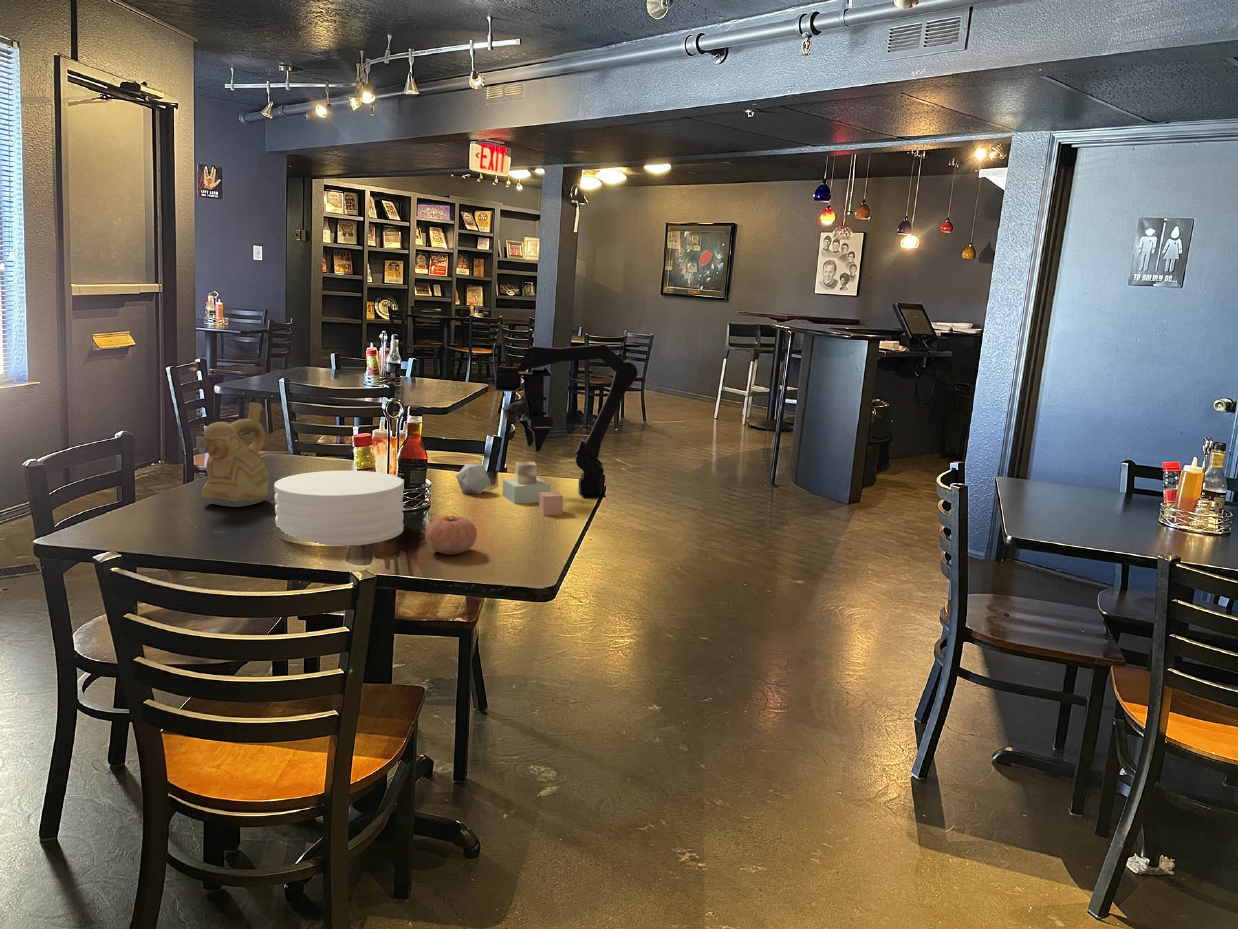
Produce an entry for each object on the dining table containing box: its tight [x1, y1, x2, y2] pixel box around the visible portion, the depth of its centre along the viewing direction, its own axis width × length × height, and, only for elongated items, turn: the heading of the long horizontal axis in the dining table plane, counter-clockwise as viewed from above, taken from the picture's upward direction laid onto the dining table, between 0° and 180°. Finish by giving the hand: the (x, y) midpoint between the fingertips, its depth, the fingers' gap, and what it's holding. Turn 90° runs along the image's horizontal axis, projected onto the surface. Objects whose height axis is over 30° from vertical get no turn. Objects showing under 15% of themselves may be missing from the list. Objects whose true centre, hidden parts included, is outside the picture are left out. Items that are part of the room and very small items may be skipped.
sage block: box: [502, 477, 551, 505], centre depth 249 cm, size 10×10×5 cm
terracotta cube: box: [538, 491, 564, 516], centre depth 234 cm, size 5×5×5 cm
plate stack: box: [273, 470, 405, 546], centre depth 209 cm, size 28×28×12 cm
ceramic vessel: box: [201, 402, 269, 501], centre depth 230 cm, size 17×20×25 cm
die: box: [455, 463, 491, 495], centre depth 254 cm, size 8×9×10 cm
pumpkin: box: [424, 515, 478, 556], centre depth 195 cm, size 11×11×8 cm
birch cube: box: [514, 461, 538, 484], centre depth 248 cm, size 5×5×5 cm
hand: (533, 448), depth 253 cm, fingers open, 9 cm apart
